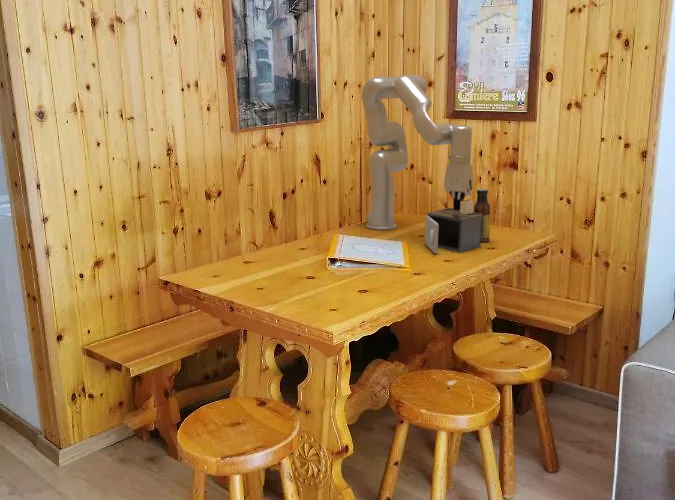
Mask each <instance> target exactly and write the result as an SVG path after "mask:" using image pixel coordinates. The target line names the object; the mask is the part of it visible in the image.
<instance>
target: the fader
mask: <svg viewBox="0 0 675 500" xmlns="http://www.w3.org/2000/svg"><path fill="white" fill-rule="evenodd" d="M472 212H474V200H472V199H470V198H469V199H463V201H461V203H460V213H462V214H471V213H472Z"/></svg>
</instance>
